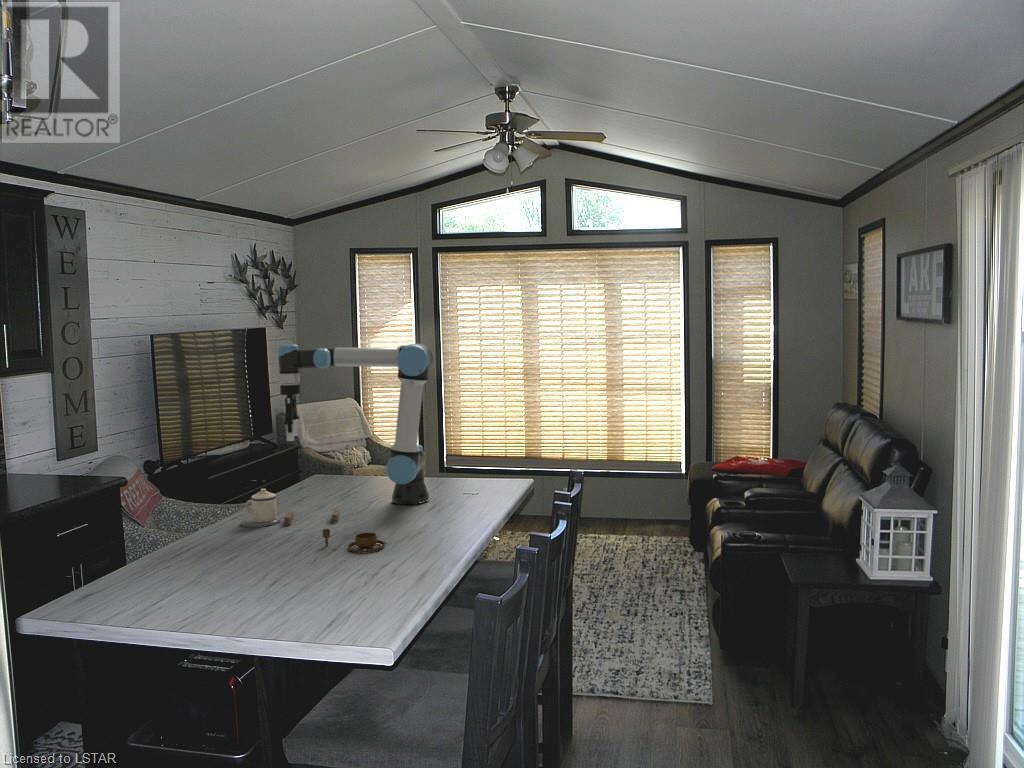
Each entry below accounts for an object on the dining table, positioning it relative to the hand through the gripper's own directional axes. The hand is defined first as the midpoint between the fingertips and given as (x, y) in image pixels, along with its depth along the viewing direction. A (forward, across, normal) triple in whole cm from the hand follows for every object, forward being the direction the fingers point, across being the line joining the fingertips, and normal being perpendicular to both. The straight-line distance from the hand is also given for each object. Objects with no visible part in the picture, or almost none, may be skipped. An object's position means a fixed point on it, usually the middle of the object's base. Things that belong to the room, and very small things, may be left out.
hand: (292, 438), depth 326 cm
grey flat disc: (+29, +17, -11) cm, 35 cm away
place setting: (+29, +58, +26) cm, 70 cm away
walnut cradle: (+29, +19, +8) cm, 35 cm away
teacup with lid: (+28, +16, -11) cm, 34 cm away
